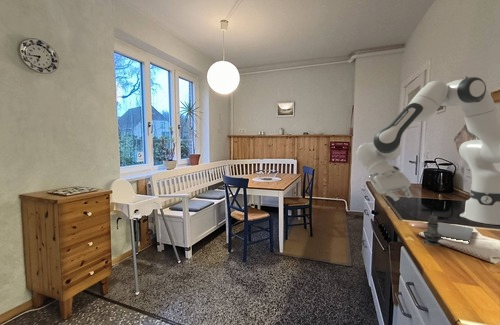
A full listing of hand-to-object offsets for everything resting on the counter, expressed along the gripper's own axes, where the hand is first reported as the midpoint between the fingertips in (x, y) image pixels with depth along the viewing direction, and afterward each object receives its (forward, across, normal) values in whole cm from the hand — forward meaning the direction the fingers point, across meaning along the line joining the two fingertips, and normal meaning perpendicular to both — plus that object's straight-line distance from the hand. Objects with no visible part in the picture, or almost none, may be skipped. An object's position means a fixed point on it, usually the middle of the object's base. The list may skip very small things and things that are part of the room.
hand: (404, 198), depth 101 cm
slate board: (+18, +16, +3) cm, 25 cm away
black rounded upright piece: (+19, 0, +3) cm, 19 cm away
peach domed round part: (+10, +16, +12) cm, 23 cm away
